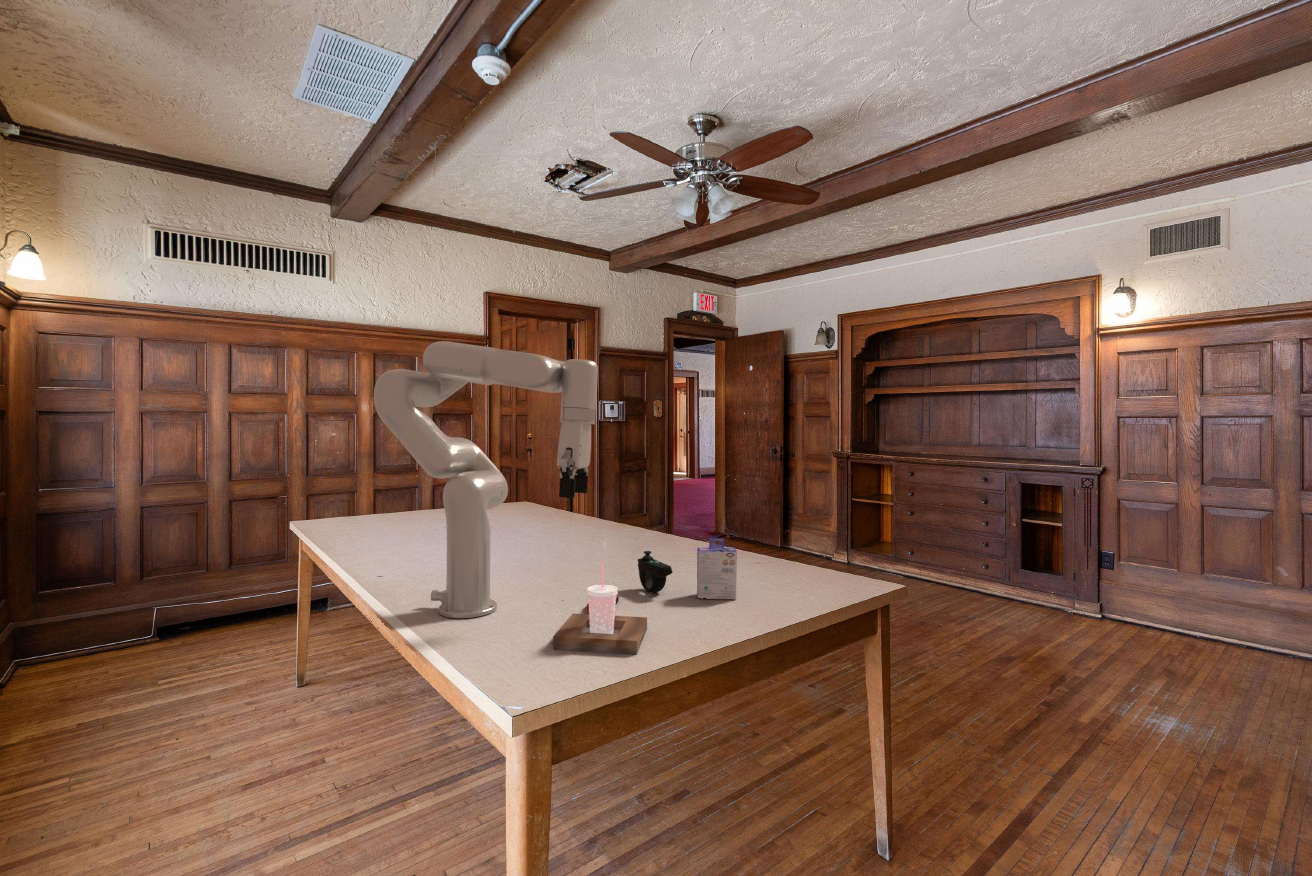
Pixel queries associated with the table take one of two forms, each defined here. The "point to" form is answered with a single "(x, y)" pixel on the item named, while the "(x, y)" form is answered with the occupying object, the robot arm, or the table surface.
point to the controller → (652, 573)
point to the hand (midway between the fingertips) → (573, 495)
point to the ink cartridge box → (716, 571)
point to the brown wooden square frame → (601, 635)
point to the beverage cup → (602, 606)
